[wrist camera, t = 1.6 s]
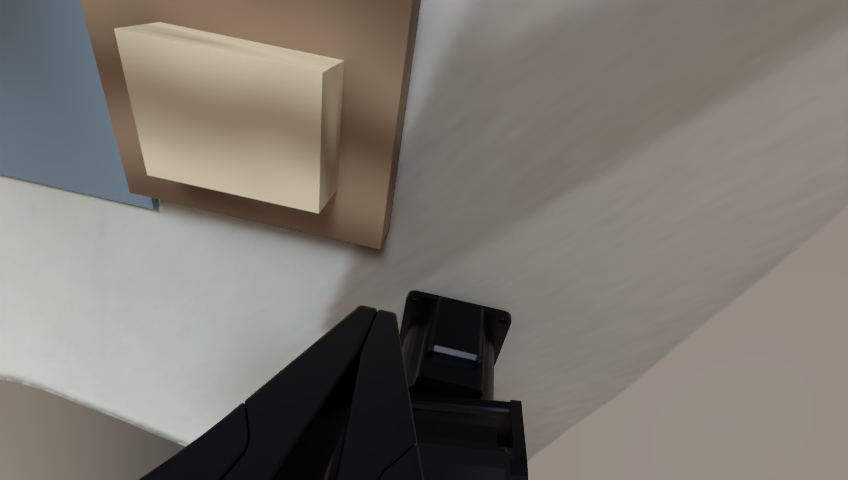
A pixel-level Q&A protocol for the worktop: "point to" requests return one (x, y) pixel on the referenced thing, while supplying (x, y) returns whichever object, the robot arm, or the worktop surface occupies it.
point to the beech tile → (234, 113)
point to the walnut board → (302, 31)
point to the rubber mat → (56, 103)
